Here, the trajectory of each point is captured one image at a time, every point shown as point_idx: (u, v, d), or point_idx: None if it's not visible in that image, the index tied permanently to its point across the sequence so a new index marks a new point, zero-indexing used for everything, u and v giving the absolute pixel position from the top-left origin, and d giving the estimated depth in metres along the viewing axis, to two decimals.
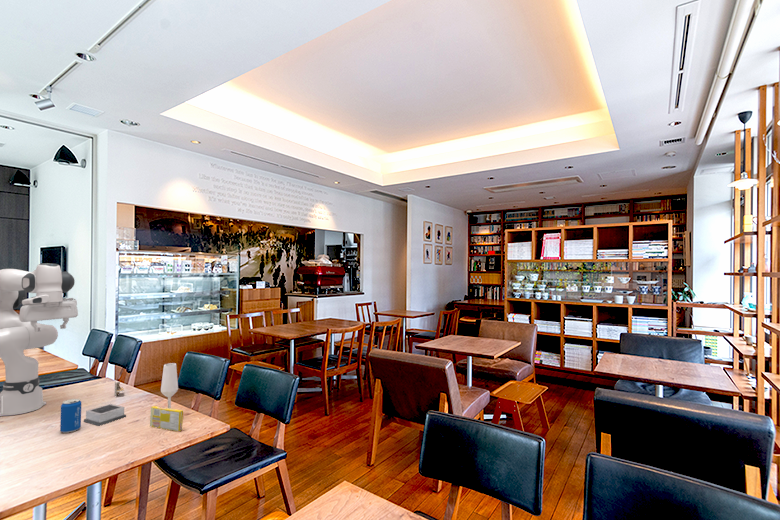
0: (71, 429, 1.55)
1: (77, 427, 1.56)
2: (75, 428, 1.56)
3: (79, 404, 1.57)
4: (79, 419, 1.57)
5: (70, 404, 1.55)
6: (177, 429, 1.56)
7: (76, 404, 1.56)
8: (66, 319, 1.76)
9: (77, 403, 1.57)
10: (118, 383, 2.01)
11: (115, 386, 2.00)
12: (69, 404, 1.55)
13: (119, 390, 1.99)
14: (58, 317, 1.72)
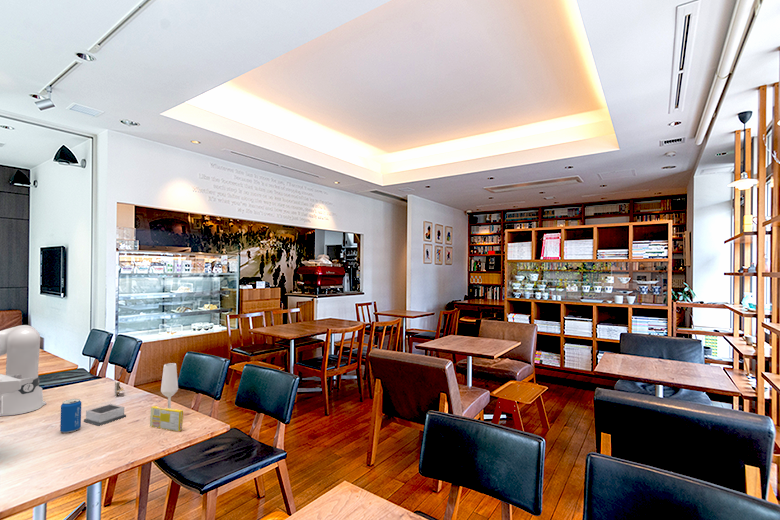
0: (71, 429, 1.55)
1: (77, 427, 1.56)
2: (75, 428, 1.56)
3: (79, 404, 1.57)
4: (79, 419, 1.57)
5: (70, 404, 1.55)
6: (177, 429, 1.56)
7: (76, 404, 1.56)
8: (5, 375, 1.44)
9: (77, 403, 1.57)
10: (118, 383, 2.01)
11: (115, 386, 2.00)
12: (69, 404, 1.55)
13: (119, 390, 1.99)
14: (5, 375, 1.41)
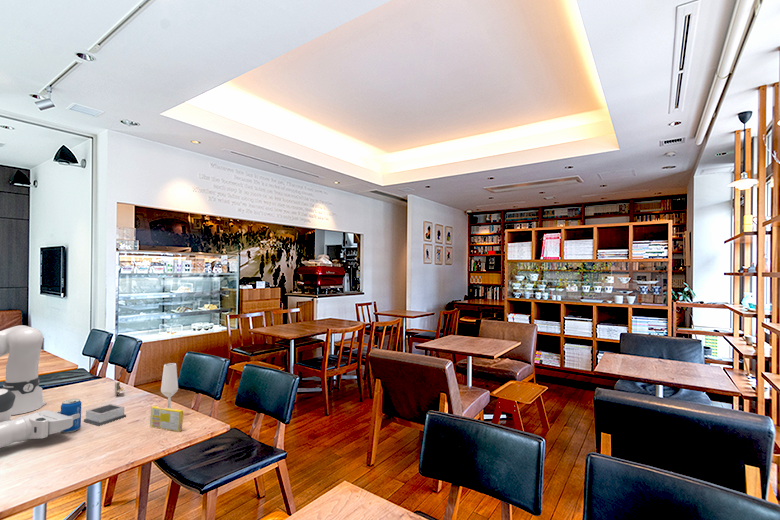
0: (71, 429, 1.55)
1: (77, 427, 1.56)
2: (75, 428, 1.56)
3: (79, 404, 1.57)
4: (79, 419, 1.57)
5: (70, 404, 1.55)
6: (177, 429, 1.56)
7: (76, 404, 1.56)
8: None
9: (77, 403, 1.57)
10: (118, 383, 2.01)
11: (115, 386, 2.00)
12: (69, 404, 1.55)
13: (119, 390, 1.99)
14: (55, 412, 1.54)
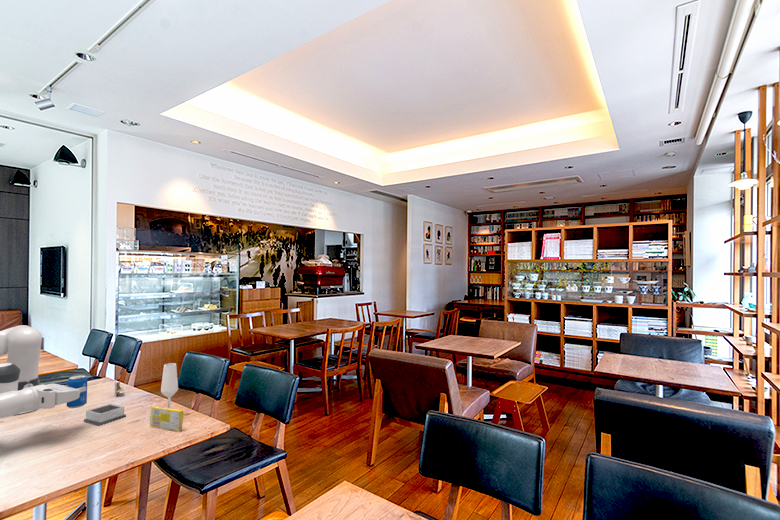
0: (77, 404, 1.56)
1: (83, 403, 1.58)
2: (81, 404, 1.57)
3: (85, 380, 1.59)
4: (85, 395, 1.59)
5: (76, 380, 1.57)
6: (177, 429, 1.56)
7: (82, 380, 1.58)
8: None
9: (83, 379, 1.59)
10: (118, 383, 2.01)
11: (115, 386, 2.00)
12: (75, 380, 1.57)
13: (119, 390, 1.99)
14: (61, 385, 1.56)
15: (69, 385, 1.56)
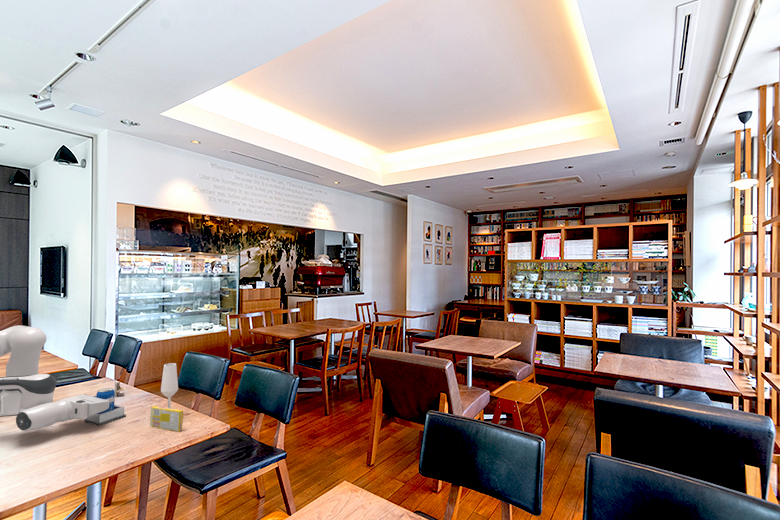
0: None
1: None
2: None
3: (113, 393, 1.69)
4: (113, 407, 1.69)
5: (105, 392, 1.67)
6: (177, 429, 1.56)
7: (110, 392, 1.68)
8: None
9: (111, 392, 1.68)
10: (118, 383, 2.01)
11: (115, 386, 2.00)
12: (104, 392, 1.66)
13: (119, 390, 1.99)
14: (91, 396, 1.66)
15: (98, 397, 1.66)
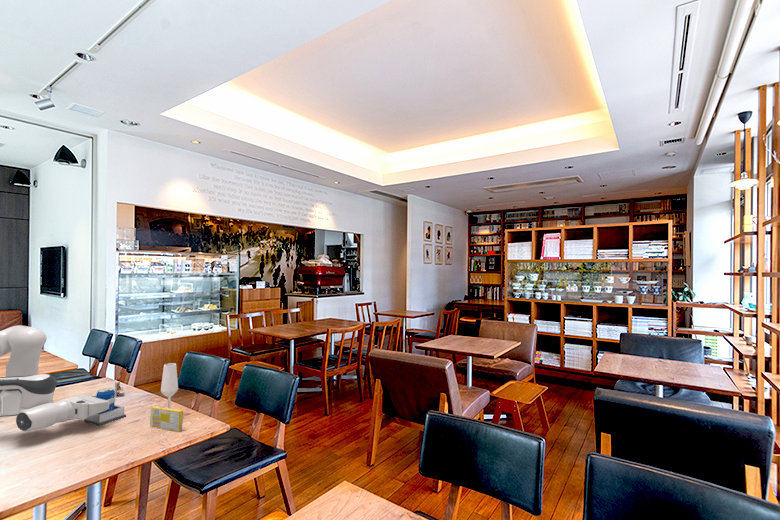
0: None
1: None
2: None
3: (113, 393, 1.69)
4: (113, 407, 1.69)
5: (105, 392, 1.67)
6: (177, 429, 1.56)
7: (110, 392, 1.68)
8: None
9: (111, 392, 1.68)
10: (118, 383, 2.01)
11: (115, 386, 2.00)
12: (104, 392, 1.66)
13: (119, 390, 1.99)
14: (91, 396, 1.66)
15: (98, 397, 1.66)
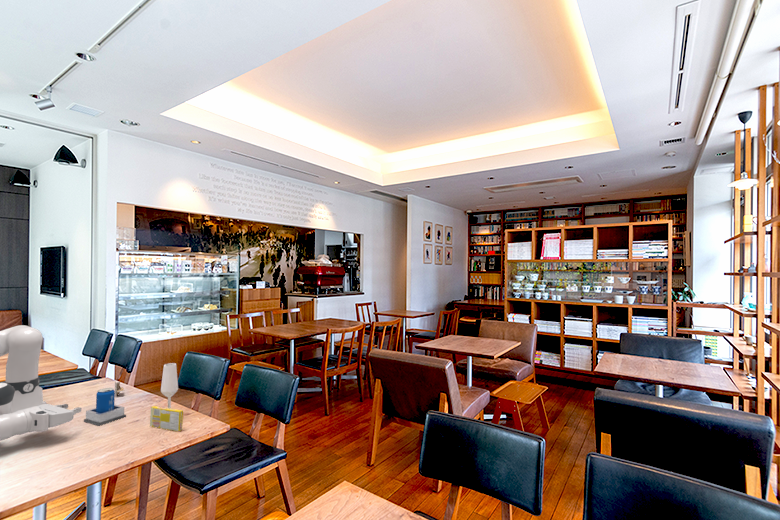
0: None
1: None
2: None
3: (113, 393, 1.69)
4: (113, 407, 1.69)
5: (105, 392, 1.67)
6: (177, 429, 1.56)
7: (110, 392, 1.68)
8: (54, 406, 1.57)
9: (111, 392, 1.68)
10: (118, 383, 2.01)
11: (115, 386, 2.00)
12: (104, 392, 1.66)
13: (119, 390, 1.99)
14: (55, 406, 1.54)
15: (98, 397, 1.66)
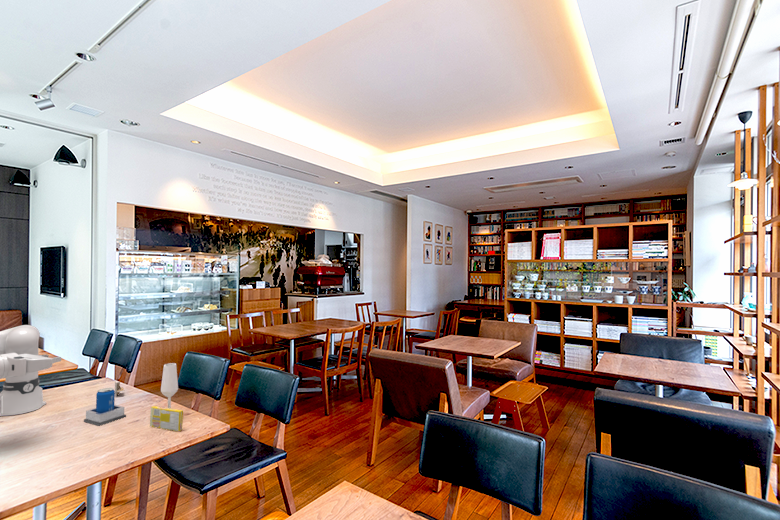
0: None
1: None
2: None
3: (113, 393, 1.69)
4: (113, 407, 1.69)
5: (105, 392, 1.67)
6: (177, 429, 1.56)
7: (110, 392, 1.68)
8: None
9: (111, 392, 1.68)
10: (118, 383, 2.01)
11: (115, 386, 2.00)
12: (104, 392, 1.66)
13: (119, 390, 1.99)
14: (34, 355, 1.52)
15: (98, 397, 1.66)
